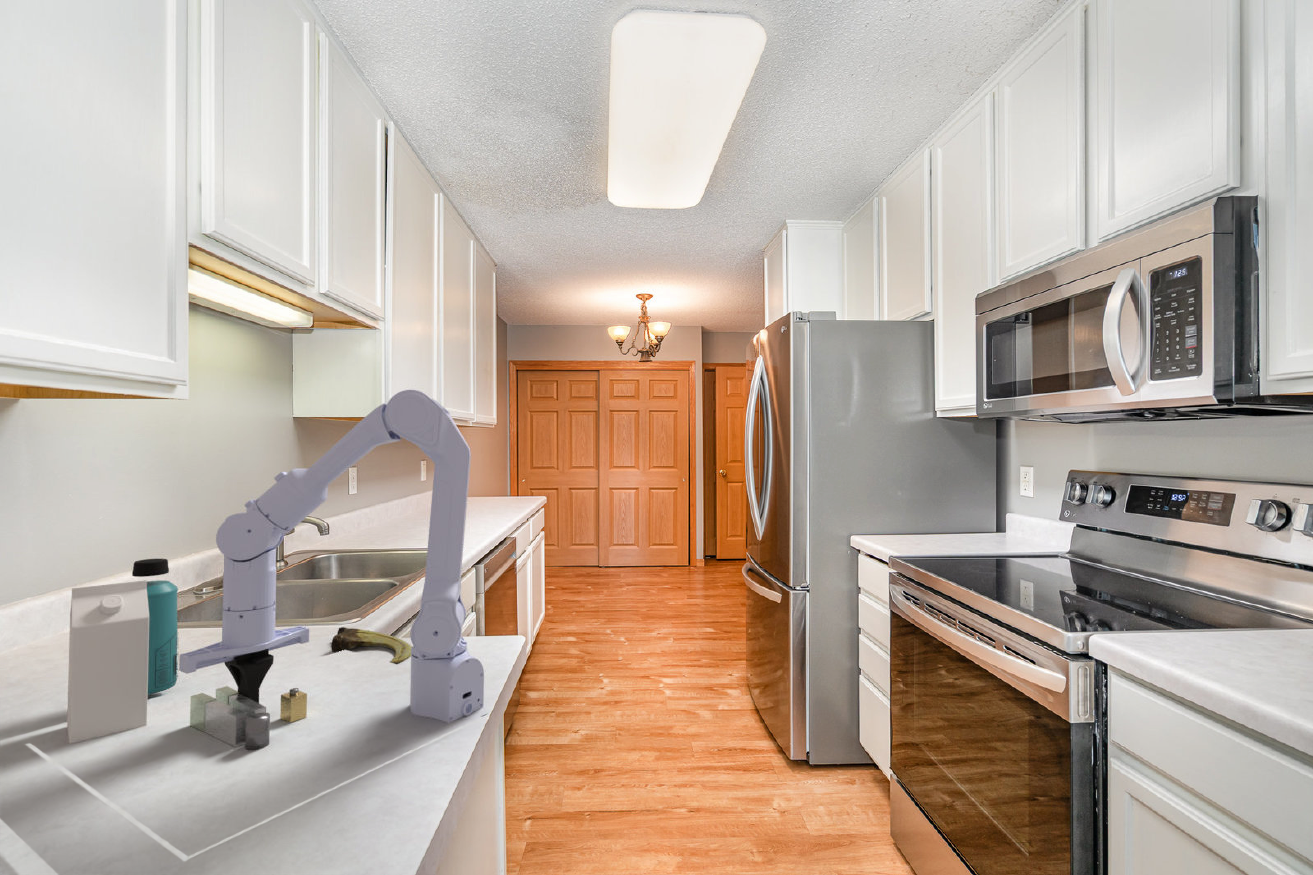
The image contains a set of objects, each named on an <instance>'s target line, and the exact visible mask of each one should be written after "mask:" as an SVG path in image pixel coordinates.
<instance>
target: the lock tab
mask: <svg viewBox="0 0 1313 875" xmlns="http://www.w3.org/2000/svg"><path fill="white" fill-rule="evenodd" d="M307 700H308V693H306V692H303V691H300V690H299V688H298V687H295V688H290V689H289V692H286V693H285V692H284V693H283V694H281V695H280V714H279V715H280V719H281V720H284V721H285V722H289V723H293V722H297V721H299V720H302V719H304V718H307V711H308V709H307V704H308V701H307Z"/></svg>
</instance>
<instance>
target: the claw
mask: <svg viewBox="0 0 1313 875" xmlns="http://www.w3.org/2000/svg"><path fill="white" fill-rule="evenodd" d="M384 646H385V648H389V649H390V650H393V651H395V656H394V657H393V658H392V659H391V660H390V661H389V663H390V664H398V663H401V662H404V661H406V660H408V659H409V658H411V648H412V647H413V645H411V644H409V643H408V642H407V641H405V640H403V639H401V638H398V637H396V636H393V635H389V634H387V633H382V632H377V631H372V630H367V629H361V628H349V627H345V626H342V627H339V628H338V630H337V634H335V635H334V636H333V637H332V641H331V644H330V648H331V649H330V650H331V652H332V653H339V651H340V652H343V651H351V650H353V649H355V648H359V647H360V648H361V647H384ZM342 650H343V651H342ZM405 659H406V660H405Z"/></svg>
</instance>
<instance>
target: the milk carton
mask: <svg viewBox="0 0 1313 875" xmlns="http://www.w3.org/2000/svg"><path fill="white" fill-rule="evenodd" d="M147 581H148V580H147V579H145V580H135V581H127V582H118V583H110V584H109V583H107V584H101V585H99V584H98V585H89V586H79V587H73V588H71V601H70V614H69V639H68V640H69V641H68V644H69V645H68V684H67V721H66V722H67V723H66V726H67V727H66V729H67V736H68V744H73V743H74V744H75V743H77V742H78V743H79V742H82V741H86V740H91V739H95V738H96V739H97V738H99V737H104V736H108V735H112V734H116V733H120V732H125V731H130V730H133V729H134V730H135V729H138V728H141V727H142V728H143V727H146V726H147V725H148V696H149V695H148V653H149V607H148V597H147Z"/></svg>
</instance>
